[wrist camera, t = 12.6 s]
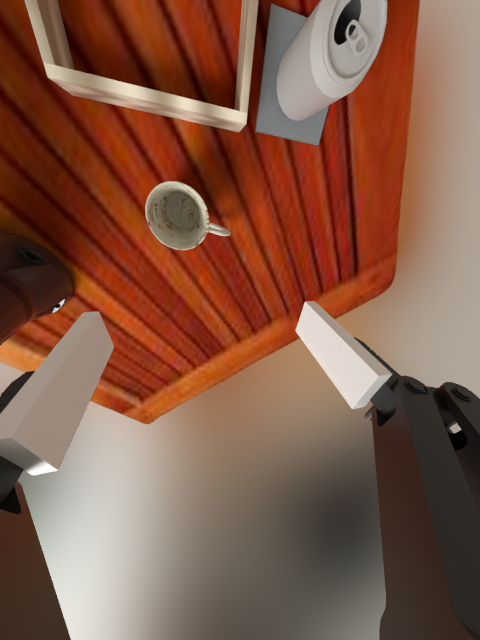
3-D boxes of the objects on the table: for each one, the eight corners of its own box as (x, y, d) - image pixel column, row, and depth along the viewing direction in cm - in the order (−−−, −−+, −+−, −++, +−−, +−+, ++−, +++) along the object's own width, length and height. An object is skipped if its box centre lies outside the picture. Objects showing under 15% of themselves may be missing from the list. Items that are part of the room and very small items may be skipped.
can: (302, 20, 23) (376, -92, 14) (333, 82, 27) (407, 27, 18) (263, 88, 26) (303, 33, 17) (296, 136, 30) (343, 114, 20)
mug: (159, 173, 30) (147, 169, 22) (233, 202, 34) (245, 207, 26) (155, 227, 34) (143, 241, 26) (221, 247, 38) (228, 263, 30)
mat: (255, 131, 29) (256, 130, 29) (269, 7, 23) (271, 3, 22) (316, 145, 32) (318, 144, 31) (345, 37, 25) (348, 34, 25)
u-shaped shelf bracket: (72, 95, 24) (47, 77, 20) (14, -126, 16) (-44, -226, 12) (239, 132, 29) (246, 123, 25) (252, -24, 21) (265, -72, 17)
